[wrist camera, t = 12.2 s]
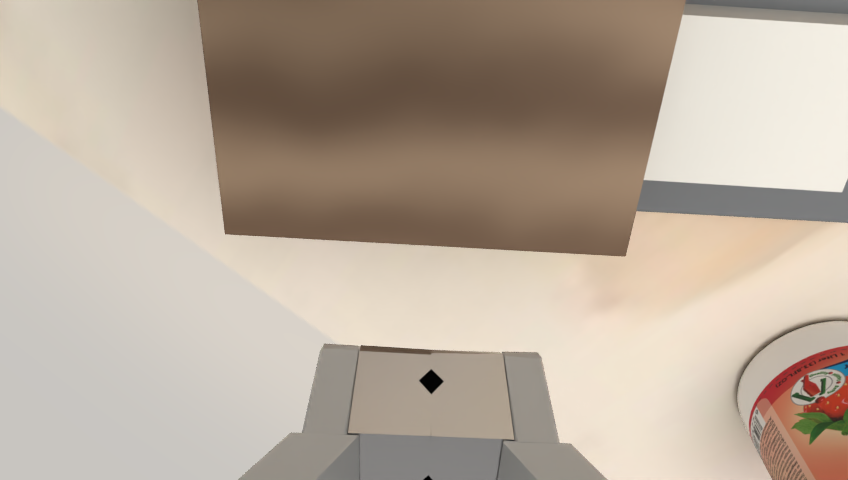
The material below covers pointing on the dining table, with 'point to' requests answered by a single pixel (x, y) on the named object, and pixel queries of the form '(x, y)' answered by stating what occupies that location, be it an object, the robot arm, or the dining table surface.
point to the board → (437, 118)
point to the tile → (755, 100)
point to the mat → (746, 198)
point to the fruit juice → (800, 403)
